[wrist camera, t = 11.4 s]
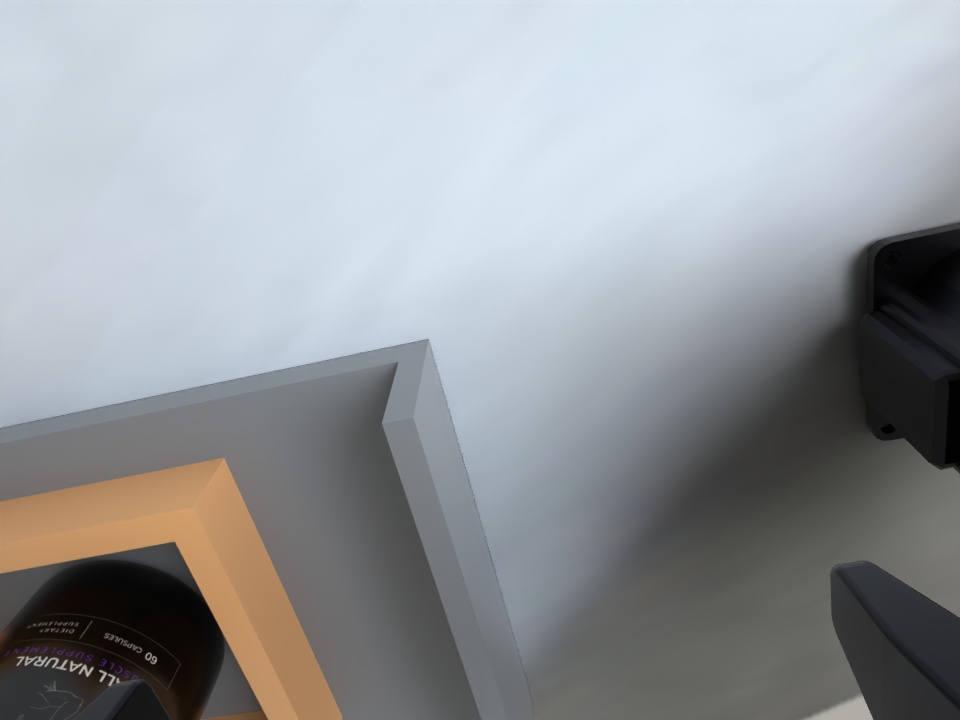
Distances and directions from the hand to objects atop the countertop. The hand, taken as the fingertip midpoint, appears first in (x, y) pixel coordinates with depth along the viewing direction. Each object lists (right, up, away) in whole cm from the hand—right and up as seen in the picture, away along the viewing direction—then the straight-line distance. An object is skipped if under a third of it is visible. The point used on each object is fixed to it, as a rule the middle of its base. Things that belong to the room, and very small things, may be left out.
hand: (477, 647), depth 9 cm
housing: (-9, -5, +17) cm, 20 cm away
